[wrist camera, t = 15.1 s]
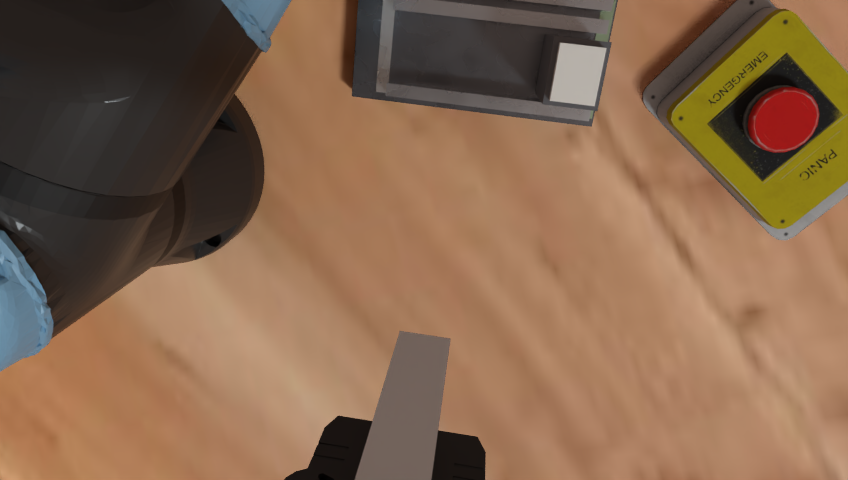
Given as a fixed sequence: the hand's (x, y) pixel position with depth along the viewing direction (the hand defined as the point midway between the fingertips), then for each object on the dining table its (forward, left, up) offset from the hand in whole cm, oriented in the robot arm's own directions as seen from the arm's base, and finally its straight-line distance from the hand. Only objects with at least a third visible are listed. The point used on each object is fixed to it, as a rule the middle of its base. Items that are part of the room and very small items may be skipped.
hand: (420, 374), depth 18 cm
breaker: (+5, +8, -25) cm, 27 cm away
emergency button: (+20, +6, -27) cm, 34 cm away
